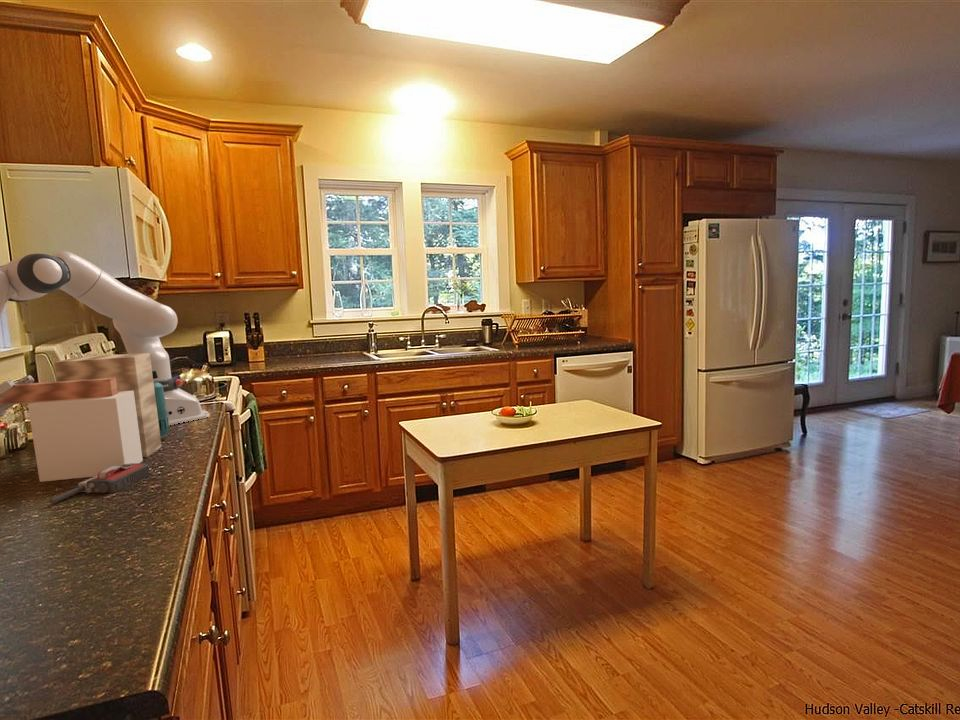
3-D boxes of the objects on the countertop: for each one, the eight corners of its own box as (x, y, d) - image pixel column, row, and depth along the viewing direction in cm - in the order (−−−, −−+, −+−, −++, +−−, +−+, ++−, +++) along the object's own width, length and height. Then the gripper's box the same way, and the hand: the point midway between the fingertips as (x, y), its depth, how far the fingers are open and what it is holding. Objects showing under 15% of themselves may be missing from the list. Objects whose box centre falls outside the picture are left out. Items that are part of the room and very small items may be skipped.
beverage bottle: (162, 442, 159) (153, 372, 156) (139, 443, 159) (130, 373, 156) (175, 436, 165) (166, 369, 163) (152, 437, 165) (144, 370, 163)
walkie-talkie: (121, 474, 133) (46, 508, 113) (119, 456, 132) (43, 487, 112) (155, 474, 131) (85, 508, 112) (153, 456, 131) (82, 487, 111)
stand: (69, 464, 141) (54, 362, 138) (88, 453, 151) (75, 357, 148) (147, 457, 145) (134, 357, 141) (161, 446, 154) (149, 352, 151)
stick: (-4, 404, 128) (-7, 387, 128) (4, 402, 131) (2, 385, 131) (112, 396, 132) (109, 379, 132) (117, 393, 135) (115, 377, 135)
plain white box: (39, 481, 129) (27, 404, 126) (63, 468, 138) (52, 396, 136) (125, 473, 132) (115, 398, 129) (142, 460, 142) (133, 390, 139)
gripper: (-79, 413, 118) (-19, 376, 119) (-14, 395, 138) (37, 363, 139) (-57, 436, 119) (2, 400, 120) (4, 415, 139) (54, 384, 140)
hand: (21, 380), depth 130 cm, fingers open, 6 cm apart
